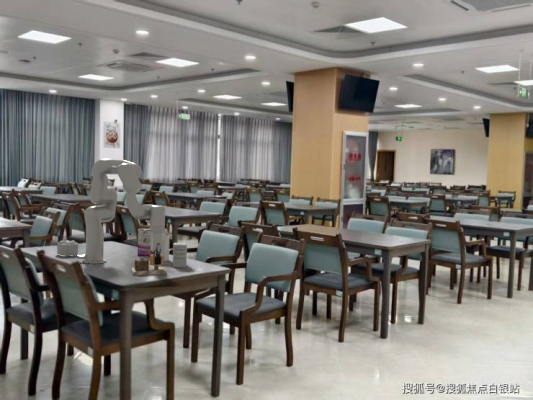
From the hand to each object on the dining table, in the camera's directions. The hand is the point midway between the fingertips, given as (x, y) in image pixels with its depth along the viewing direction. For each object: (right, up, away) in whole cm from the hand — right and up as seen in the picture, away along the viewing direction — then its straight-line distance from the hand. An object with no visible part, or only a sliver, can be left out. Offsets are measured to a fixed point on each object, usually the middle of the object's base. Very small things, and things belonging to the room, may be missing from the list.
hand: (156, 262), depth 277 cm
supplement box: (+9, -4, +19) cm, 22 cm away
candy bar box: (-16, -2, +49) cm, 51 cm away
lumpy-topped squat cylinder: (-63, 0, +41) cm, 75 cm away
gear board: (-4, -5, -1) cm, 6 cm away
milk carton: (-5, -3, +34) cm, 34 cm away
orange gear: (0, -1, 0) cm, 1 cm away
